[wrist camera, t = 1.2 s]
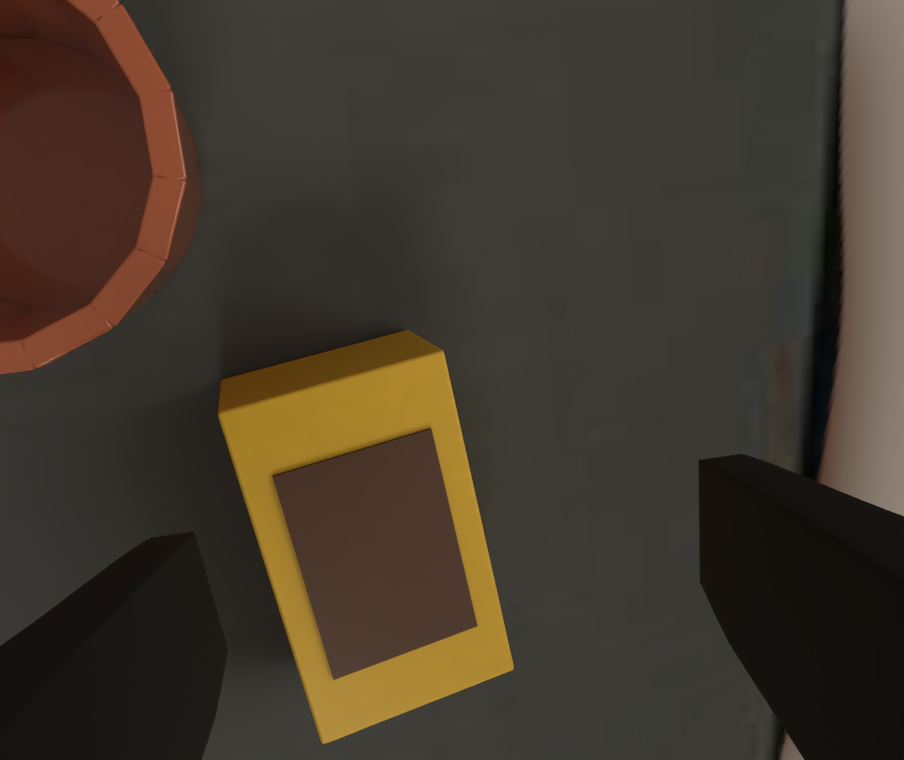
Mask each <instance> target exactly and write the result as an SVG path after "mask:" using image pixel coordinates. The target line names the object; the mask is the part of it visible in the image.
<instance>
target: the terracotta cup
mask: <svg viewBox="0 0 904 760" xmlns="http://www.w3.org/2000/svg"><path fill="white" fill-rule="evenodd" d="M201 201H202V187H201V181H200V171H199V165H198V160H197V156H196V150H195V143H194V138H193V136H192V133H191V131H190V128H189V126H188V124H187V122H186V119H185V117H184V115H183V113H182V110H181V108H180V106H179V104H178V101H177V99H176V97H175V95H174V92H173V90H172V88H171V86H170V84H169V82H168V80H167V79H166V77H165V75H164V74H163V72H162V70H161V68H160V67H159V65H158V63H157V62H156V60H155V58H154V56H153V55H152V53H151V51H150V50H149V48H148V46H147V45H146V43H145V41H144V39H143V38H142V36H141V34H140V33H139V31H138V29H137V27H136V26H135V24H134V22H133V21H132V19H131V17H130V15H129V14H128V12H127V10H126V9H125V7H124V6H123V5H122V4H120V2H119V0H0V375H2V374H9V373H17V372H25V371H32V370H34V369H35V368H41V367H43V366H45V365H47V364H48V363H50V362H52V361H54V360H56V359H58V358H60V357H61V356H63V355H65V354H67V353H69V352H71V351H73V350H75V349H76V348H78V347H80V346H82V345H84V344H86V343H88V342H89V341H91V340H93V339H95V338H97V337H99V336H101V335H103V334H104V333H106V332H108V331H110V330H112V329H113V328H114V327H115V326H116V325H118V324H119V323H120V322H121V321H123V320H124V319H125V318H126V317H127V316H129V315H130V314H131V313H132V312H133V311H135V310H136V309H137V308H138V307H140V306H141V305H142V304H143V303H144V302H146V301H147V300H148V299H149V298H151V297H152V296H153V295H154V294H155V293H156V292H157V291H158V289H159V288H160V287H161V286H162V284H163V283H164V282H165V281H166V279H167V278H168V277H169V276H170V275H171V274H172V273H173V272H174V270H175V269H176V267H177V266H178V264H179V263H180V262H181V261H182V259H183V258H184V257H185V255H186V254H187V252H188V250H189V249H190V245H191V241H192V238H193V235H194V232H195V229H196V225H197V221H198V216H199V210H200V205H201Z"/></svg>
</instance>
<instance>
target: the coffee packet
mask: <svg viewBox="0 0 904 760" xmlns="http://www.w3.org/2000/svg"><path fill="white" fill-rule="evenodd" d="M218 418H219V421H220V424H221V427H222V430H223V433H224V437H225V440H226V443H227V446H228V449H229V452H230V456H231V459H232V462H233V465H234V468H235V471H236V475H237V478H238V481H239V484H240V487H241V490H242V494H243V497H244V500H245V503H246V506H247V509H248V513H249V516H250V519H251V522H252V525H253V528H254V532H255V535H256V538H257V541H258V544H259V547H260V551H261V554H262V557H263V560H264V563H265V566H266V570H267V573H268V576H269V579H270V582H271V585H272V589H273V592H274V595H275V598H276V601H277V604H278V608H279V611H280V614H281V617H282V620H283V624H284V627H285V630H286V633H287V636H288V639H289V643H290V646H291V649H292V652H293V655H294V658H295V662H296V665H297V668H298V671H299V674H300V677H301V681H302V684H303V687H304V690H305V693H306V696H307V700H308V703H309V706H310V709H311V712H312V715H313V719H314V722H315V725H316V728H317V731H318V734H319V738H320V741H321V742H322V744H326V743H329V742H331V741H334V740H336V739H339V738H341V737H344V736H346V735H349V734H351V733H354V732H357V731H359V730H362V729H364V728H367V727H369V726H372V725H374V724H377V723H379V722H382V721H384V720H387V719H390V718H392V717H395V716H397V715H400V714H402V713H405V712H407V711H410V710H412V709H415V708H417V707H420V706H423V705H425V704H428V703H430V702H433V701H435V700H438V699H440V698H443V697H445V696H448V695H450V694H453V693H456V692H458V691H461V690H463V689H466V688H468V687H471V686H473V685H476V684H478V683H481V682H483V681H486V680H489V679H491V678H494V677H496V676H499V675H501V674H504V673H506V672H509V671H511V670H513V668H514V666H513V661H512V657H511V652H510V648H509V643H508V639H507V634H506V630H505V625H504V621H503V616H502V612H501V607H500V603H499V598H498V594H497V589H496V585H495V580H494V576H493V571H492V567H491V562H490V558H489V553H488V549H487V544H486V540H485V535H484V531H483V526H482V522H481V517H480V513H479V508H478V504H477V499H476V494H475V490H474V485H473V481H472V476H471V472H470V467H469V463H468V458H467V454H466V449H465V445H464V440H463V436H462V431H461V427H460V422H459V418H458V413H457V409H456V404H455V400H454V395H453V391H452V386H451V382H450V377H449V373H448V368H447V364H446V359H445V355H444V352H443V351H442V350H441V349H439V348H437V347H436V346H434V345H432V344H431V343H429V342H427V341H425V340H424V339H422V338H420V337H419V336H417V335H415V334H413V333H412V332H410V331H408V330H405V331H402V332H398V333H394V334H390V335H387V336H383V337H379V338H376V339H372V340H368V341H364V342H361V343H357V344H353V345H349V346H346V347H342V348H338V349H334V350H331V351H327V352H323V353H319V354H316V355H312V356H308V357H304V358H301V359H297V360H293V361H290V362H286V363H282V364H278V365H275V366H271V367H267V368H263V369H260V370H256V371H252V372H248V373H245V374H241V375H237V376H233V377H230V378H226V379H223V380H221V385H220V397H219V408H218Z"/></svg>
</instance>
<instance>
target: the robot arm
mask: <svg viewBox="0 0 904 760" xmlns="http://www.w3.org/2000/svg"><path fill="white" fill-rule="evenodd" d="M699 531H700V583H701V585H702V587H703V589H704V591H705V594H706V596H707V598H708V600H709V602H710V605H711V607H712V609H713V611H714V613H715V615H716V617H717V620H718V622H719V624H720V626H721V628H722V630H723V632H724V634H725V636H726V638H727V640H728V642H729V644H730V645H731V647H732V648H733V650H734V652H735V653H736V655H737V656H738V658H739V660H740V661H741V663H742V664H743V666H744V667H745V669H746V670H747V672H748V674H749V675H750V677H751V678H752V680H753V681H754V683H755V685H756V686H757V688H758V689H759V691H760V692H761V694H762V695H763V697H764V698H765V700H766V701H767V703H768V705H769V706H770V708H771V709H772V711H773V712H774V714H775V715H776V717H777V718H778V720H779V721H780V723H781V724H782V726H783V727H784V729H785V731H786V732H787V734H788V735H789V737H790V738H791V740H792V741H793V743H794V744H795V746H796V747H797V749H798V750H799V752H800V753H801V755H802V756H803V758H804V760H904V516H901V515H899V514H896V513H893V512H891V511H888V510H885V509H883V508H880V507H877V506H875V505H873V504H870V503H867V502H865V501H862V500H860V499H857V498H855V497H852V496H850V495H847V494H845V493H842V492H840V491H837V490H835V489H833V488H830V487H828V486H825V485H823V484H820V483H818V482H816V481H813V480H811V479H808V478H806V477H803V476H801V475H798V474H796V473H793V472H791V471H789V470H786V469H783V468H781V467H778V466H776V465H773V464H771V463H768V462H765V461H762V460H759V459H757V458H754V457H750V456H747V455H743V454H738V455H731V456H724V457H717V458H710V459H703V460H699ZM227 652H228V648H227V645H226V641H225V638H224V634H223V631H222V627H221V624H220V620H219V617H218V613H217V610H216V606H215V603H214V599H213V596H212V592H211V589H210V585H209V582H208V578H207V575H206V571H205V568H204V564H203V561H202V557H201V554H200V550H199V547H198V543H197V540H196V536H195V533H194V532H188V533H181V534H174V535H167V536H160V537H153V538H150V539H148V540H146V541H145V542H143V543H141V544H140V545H138V546H137V547H135V548H134V549H132V550H131V551H129V552H128V553H126V554H125V555H123V556H122V557H121V558H119V559H118V560H116V561H115V562H114V563H112V564H111V565H110V566H108V567H107V568H106V569H104V570H103V571H101V572H100V573H99V574H97V575H96V576H95V577H94V578H92V579H91V580H90V581H88V582H87V583H86V584H84V585H83V586H82V587H80V588H79V589H78V590H76V591H75V592H74V593H72V594H71V595H70V596H68V597H67V598H66V599H64V600H63V601H62V602H60V603H59V604H58V605H56V606H55V607H54V608H52V609H51V610H50V611H48V612H47V613H46V614H44V615H43V616H42V617H40V618H39V619H38V620H36V621H35V622H34V623H32V624H31V625H29V626H28V627H27V628H25V629H24V630H22V631H21V632H20V633H18V634H17V635H15V636H14V637H12V638H11V639H10V640H8V641H7V642H5V643H4V644H2V645H1V646H0V760H202V757H203V754H204V751H205V747H206V744H207V741H208V738H209V735H210V732H211V729H212V726H213V722H214V719H215V716H216V711H217V706H218V701H219V696H220V691H221V686H222V680H223V675H224V669H225V663H226V657H227Z"/></svg>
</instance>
